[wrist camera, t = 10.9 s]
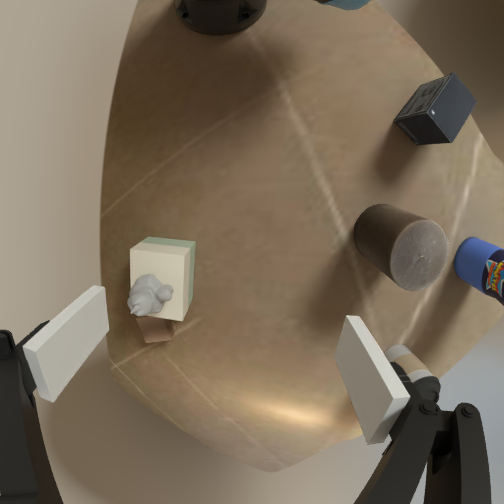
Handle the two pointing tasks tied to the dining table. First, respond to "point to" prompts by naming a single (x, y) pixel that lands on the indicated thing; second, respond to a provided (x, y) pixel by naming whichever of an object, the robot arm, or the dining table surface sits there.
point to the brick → (156, 328)
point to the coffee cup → (415, 371)
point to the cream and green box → (167, 271)
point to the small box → (436, 111)
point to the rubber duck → (148, 295)
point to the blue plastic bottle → (481, 266)
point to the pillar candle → (402, 245)
